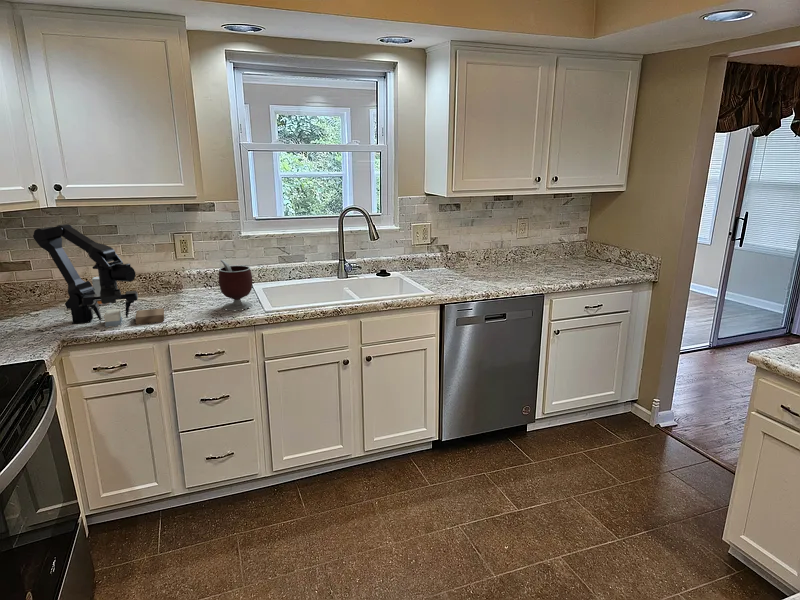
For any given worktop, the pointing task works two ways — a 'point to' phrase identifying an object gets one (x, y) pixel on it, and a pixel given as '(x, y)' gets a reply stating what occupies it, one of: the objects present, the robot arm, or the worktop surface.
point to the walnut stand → (149, 316)
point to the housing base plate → (113, 323)
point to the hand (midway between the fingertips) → (113, 318)
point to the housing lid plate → (113, 315)
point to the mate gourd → (235, 285)
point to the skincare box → (97, 289)
